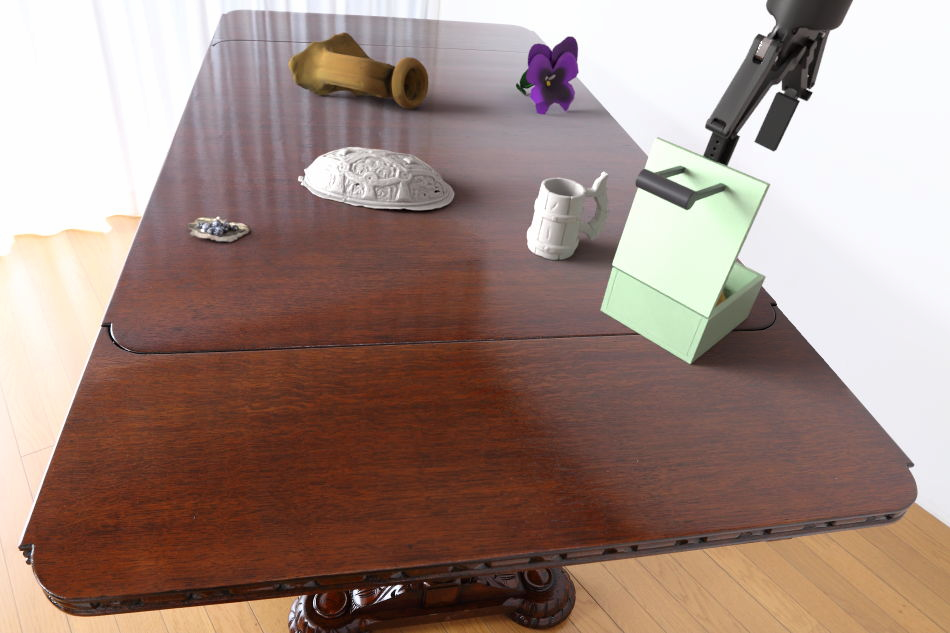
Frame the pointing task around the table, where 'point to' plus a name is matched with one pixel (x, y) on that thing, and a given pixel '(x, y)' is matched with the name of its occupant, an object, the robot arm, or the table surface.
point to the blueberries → (217, 229)
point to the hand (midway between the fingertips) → (735, 166)
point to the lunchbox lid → (688, 224)
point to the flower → (551, 74)
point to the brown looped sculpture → (358, 72)
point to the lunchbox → (680, 311)
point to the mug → (565, 216)
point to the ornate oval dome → (376, 180)
